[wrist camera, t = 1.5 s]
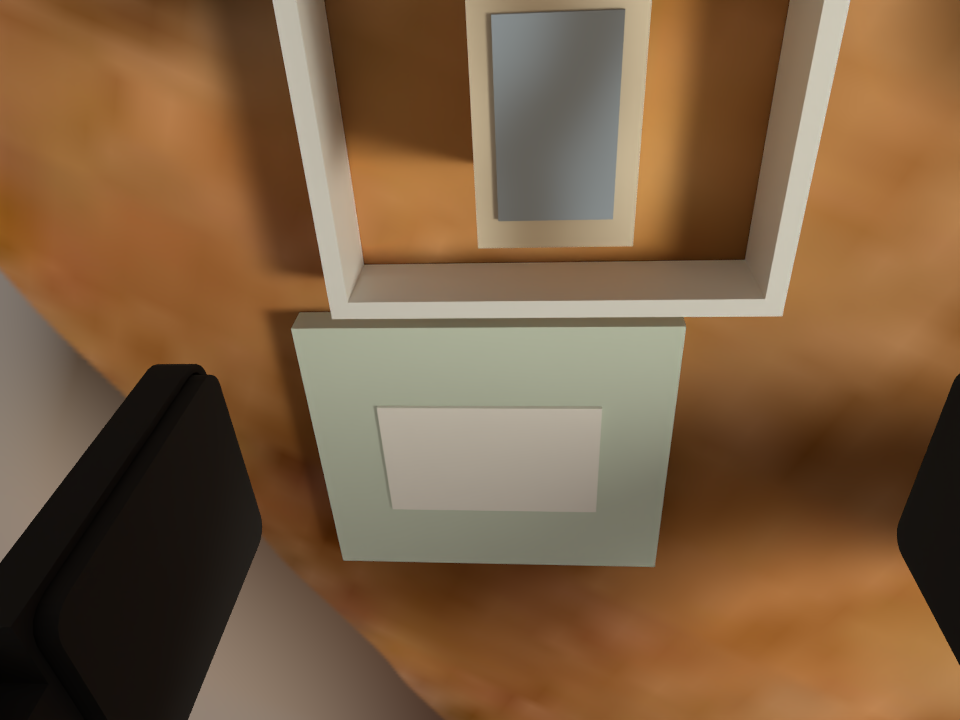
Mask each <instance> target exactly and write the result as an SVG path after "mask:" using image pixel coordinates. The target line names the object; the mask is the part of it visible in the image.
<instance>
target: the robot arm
mask: <svg viewBox="0 0 960 720" xmlns="http://www.w3.org/2000/svg"><path fill="white" fill-rule="evenodd" d="M261 534H262V520H261V515H260V512H259V509H258V505H257V502H256V499H255V496H254V493H253V489H252V486H251V483H250V480H249V476H248V473H247V470H246V467H245V464H244V460H243V457H242V454H241V451H240V447H239V444H238V441H237V438H236V435H235V431H234V428H233V425H232V422H231V418H230V415H229V412H228V409H227V406H226V402H225V399H224V396H223V393H222V390H221V386H220V384H219V381H218V379H217V378H216V377H215V376H213V375H207V374H206V372H205V370H204V369H203V368H202V367H201V366H200V365H197V364H157V365H153V366H152V367H150V368H149V369H148V370H147V372H146V373H145V374H144V375H143V377H142V378H141V379H140V381H139V382H138V383H137V385H136V386H135V387H134V389H133V390H132V391H131V392H130V394H129V395H128V396H127V398H126V399H125V400H124V402H123V403H122V404H121V406H120V407H119V408H118V410H117V411H116V412H115V413H114V415H113V416H112V418H111V419H110V420H109V421H108V423H107V424H106V425H105V427H104V428H103V429H102V430H101V432H100V433H99V434H98V436H97V437H96V438H95V440H94V441H93V442H92V444H91V445H90V446H89V447H88V449H87V450H86V451H85V453H84V454H83V455H82V457H81V458H80V459H79V461H78V462H77V463H76V465H75V466H74V467H73V468H72V470H71V471H70V472H69V474H68V475H67V476H66V478H65V479H64V480H63V481H62V483H61V484H60V485H59V487H58V488H57V489H56V491H55V492H54V493H53V495H52V496H51V497H50V498H49V500H48V501H47V502H46V504H45V505H44V507H43V508H42V509H41V510H40V512H39V513H38V514H37V516H36V517H35V518H34V519H33V521H32V522H31V523H30V525H29V526H28V527H27V529H26V530H25V531H24V533H23V534H22V535H21V537H20V538H19V539H18V540H17V542H16V543H15V544H14V546H13V547H12V548H11V550H10V551H9V552H8V553H7V555H6V556H5V557H4V559H3V560H2V561H1V563H0V720H188V718H189V715H190V713H191V711H192V708H193V706H194V703H195V701H196V698H197V696H198V693H199V691H200V688H201V686H202V683H203V681H204V678H205V676H206V673H207V671H208V669H209V666H210V664H211V661H212V659H213V656H214V654H215V651H216V649H217V646H218V644H219V642H220V639H221V636H222V634H223V632H224V629H225V627H226V624H227V622H228V619H229V617H230V615H231V612H232V609H233V607H234V605H235V602H236V600H237V597H238V595H239V592H240V590H241V588H242V585H243V582H244V580H245V578H246V575H247V572H248V570H249V568H250V565H251V563H252V560H253V558H254V556H255V553H256V551H257V548H258V546H259V543H260V539H261ZM897 541H898V546H899V550H900V552H901V554H902V556H903V558H904V560H905V562H906V564H907V566H908V568H909V570H910V572H911V574H912V575H913V577H914V579H915V581H916V583H917V585H918V587H919V589H920V591H921V593H922V594H923V596H924V598H925V600H926V602H927V604H928V606H929V608H930V610H931V612H932V613H933V615H934V617H935V619H936V621H937V623H938V625H939V627H940V629H941V631H942V632H943V634H944V636H945V638H946V640H947V642H948V644H949V646H950V648H951V650H952V651H953V653H954V655H955V657H956V659H957V661H958V663H959V665H960V374H959V375H958V376H957V377H956V378H955V380H954V382H953V384H952V387H951V389H950V392H949V394H948V397H947V400H946V402H945V405H944V407H943V410H942V412H941V415H940V418H939V420H938V423H937V425H936V428H935V431H934V433H933V436H932V438H931V441H930V443H929V446H928V449H927V451H926V454H925V456H924V459H923V462H922V464H921V467H920V469H919V472H918V474H917V477H916V480H915V482H914V485H913V487H912V490H911V493H910V495H909V498H908V500H907V503H906V505H905V508H904V511H903V513H902V516H901V518H900V521H899V524H898V528H897Z"/></svg>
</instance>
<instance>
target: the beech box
mask: <svg viewBox="0 0 960 720" xmlns="http://www.w3.org/2000/svg"><path fill="white" fill-rule="evenodd" d="M651 5H652V0H465V8H466V27H467V46H468V65H469V84H470V103H471V122H472V141H473V160H474V179H475V198H476V217H477V236H478V248H538V247H610V246H633V238H634V225H635V212H636V199H637V186H638V173H639V160H640V147H641V134H642V122H643V109H644V96H645V83H646V70H647V57H648V44H649V31H650V18H651Z"/></svg>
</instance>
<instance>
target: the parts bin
mask: <svg viewBox="0 0 960 720" xmlns="http://www.w3.org/2000/svg"><path fill="white" fill-rule="evenodd" d="M272 1H273V6H274V12H275V17H276V22H277V28H278V33H279V38H280V44H281V49H282V54H283V60H284V65H285V70H286V76H287V81H288V86H289V92H290V97H291V102H292V108H293V113H294V118H295V124H296V129H297V134H298V140H299V145H300V151H301V156H302V161H303V167H304V172H305V177H306V183H307V188H308V193H309V199H310V204H311V209H312V215H313V220H314V225H315V231H316V236H317V241H318V247H319V252H320V257H321V263H322V268H323V273H324V279H325V284H326V290H327V295H328V300H329V306H330V311H331V316H332V319H430V318H586V317H741V316H782V315H783V310H784V305H785V301H786V296H787V291H788V287H789V282H790V277H791V273H792V268H793V264H794V259H795V254H796V250H797V245H798V240H799V236H800V231H801V226H802V222H803V217H804V213H805V208H806V203H807V199H808V194H809V189H810V185H811V180H812V175H813V171H814V166H815V161H816V157H817V152H818V148H819V143H820V138H821V134H822V129H823V124H824V120H825V115H826V110H827V106H828V101H829V97H830V92H831V87H832V83H833V78H834V73H835V69H836V64H837V59H838V55H839V50H840V45H841V41H842V36H843V32H844V27H845V22H846V18H847V13H848V8H849V4H850V0H790V2H789V8H788V14H787V19H786V25H785V31H784V37H783V42H782V48H781V54H780V60H779V66H778V71H777V77H776V83H775V89H774V94H773V100H772V106H771V112H770V117H769V123H768V129H767V135H766V140H765V146H764V152H763V158H762V164H761V169H760V175H759V181H758V187H757V192H756V198H755V204H754V210H753V215H752V221H751V227H750V233H749V239H748V244H747V250H746V256H745V260H691V261H611V262H531V263H451V264H371V265H364V260H363V254H362V247H361V241H360V234H359V227H358V221H357V214H356V207H355V201H354V194H353V188H352V181H351V174H350V168H349V161H348V154H347V148H346V141H345V135H344V128H343V121H342V115H341V108H340V101H339V95H338V88H337V81H336V75H335V68H334V62H333V55H332V48H331V42H330V35H329V28H328V22H327V15H326V9H325V2H324V0H272Z"/></svg>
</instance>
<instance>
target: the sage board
mask: <svg viewBox="0 0 960 720" xmlns="http://www.w3.org/2000/svg"><path fill="white" fill-rule="evenodd" d="M291 331H292V336H293V340H294V344H295V349H296V353H297V358H298V362H299V367H300V371H301V375H302V380H303V384H304V389H305V393H306V398H307V402H308V407H309V411H310V415H311V420H312V424H313V429H314V433H315V438H316V442H317V446H318V451H319V455H320V460H321V464H322V469H323V473H324V477H325V482H326V486H327V491H328V495H329V500H330V504H331V508H332V513H333V517H334V522H335V526H336V531H337V535H338V539H339V544H340V548H341V553H342V557H343V560H344V561H393V562H441V563H489V564H537V565H585V566H634V567H655V561H656V553H657V545H658V538H659V530H660V522H661V515H662V507H663V500H664V492H665V484H666V477H667V469H668V461H669V454H670V446H671V439H672V431H673V423H674V416H675V408H676V400H677V393H678V385H679V377H680V370H681V362H682V355H683V347H684V339H685V332H686V324H685V321H684V318H683V317H586V318H430V319H332V316H331V312H299V314H298V316H297V318H296V320H295V322H294V324H293V326H292V328H291Z"/></svg>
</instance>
